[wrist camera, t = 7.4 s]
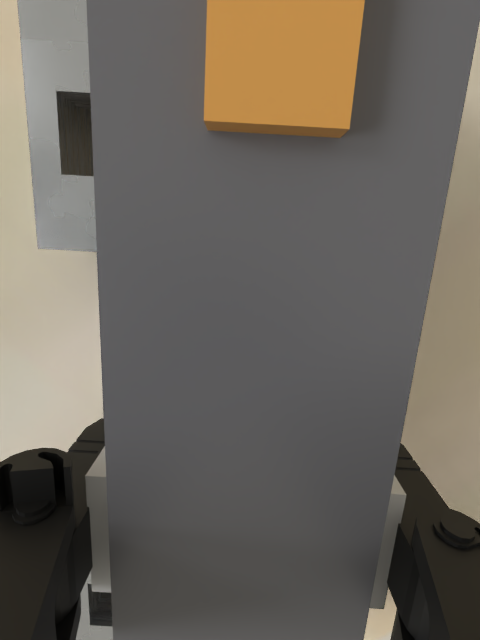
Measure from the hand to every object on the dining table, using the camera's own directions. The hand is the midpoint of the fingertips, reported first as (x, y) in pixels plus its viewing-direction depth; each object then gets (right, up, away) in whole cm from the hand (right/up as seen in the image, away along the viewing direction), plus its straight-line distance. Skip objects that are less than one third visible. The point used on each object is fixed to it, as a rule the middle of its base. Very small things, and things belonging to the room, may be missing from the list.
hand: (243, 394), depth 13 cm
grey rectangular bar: (0, 0, 0) cm, 0 cm away
